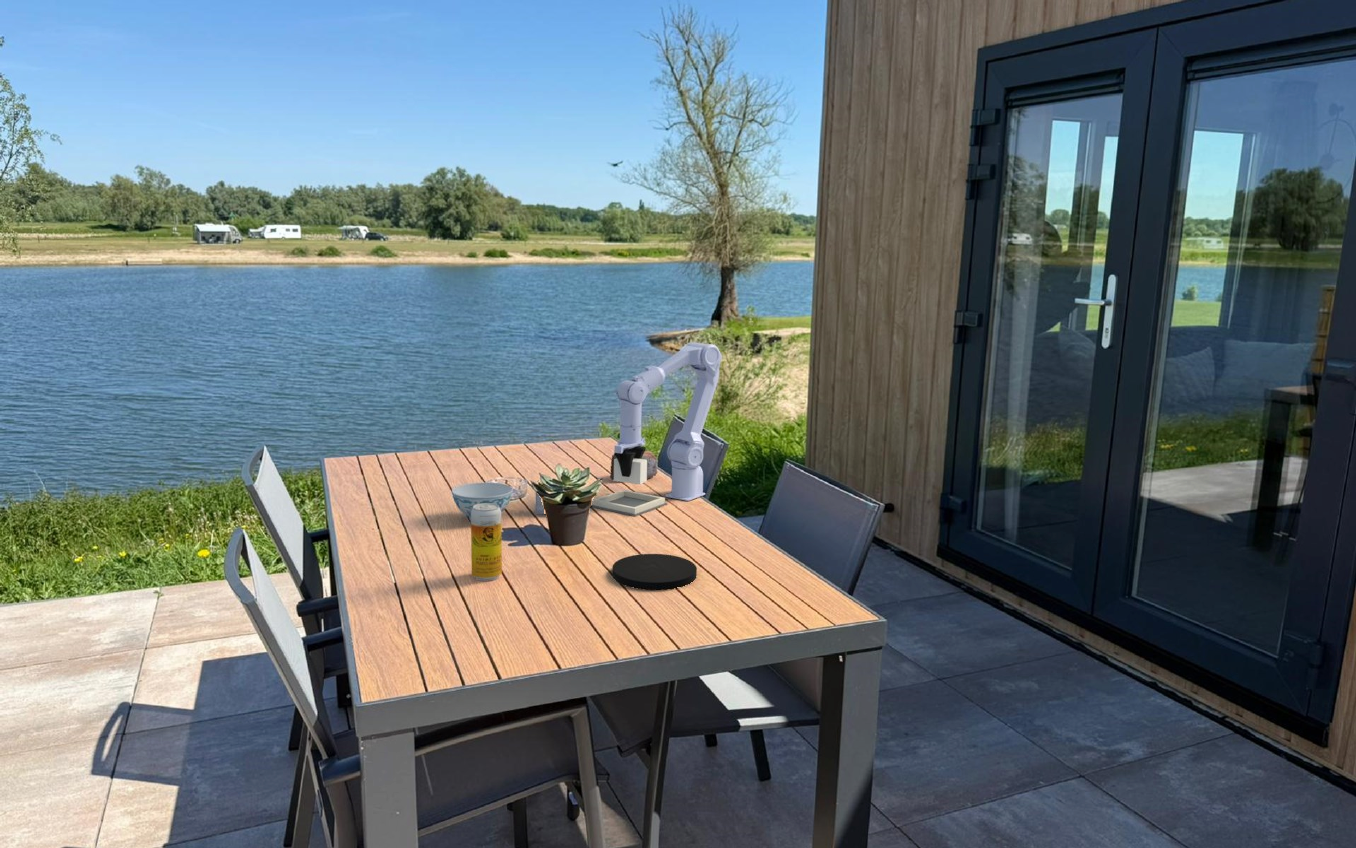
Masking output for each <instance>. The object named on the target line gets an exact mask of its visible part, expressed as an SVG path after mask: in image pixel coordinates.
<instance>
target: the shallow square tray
mask: <svg viewBox="0 0 1356 848" xmlns="http://www.w3.org/2000/svg"><path fill="white" fill-rule="evenodd" d="M593 500H594V501H593ZM593 500H592V504H591V505H592V507H591V508H593V509H598V508H599V509H600V510H604V511H608V510H609V512H613V513H617V514H622V515H627V516H631V517H637V516H640V515H643V514H645V513H648V512H651V511H654V510H656V508H657V509H659V508H661V507H665V506H667V505H668V502H666V497H662V496H658V495H653V494H652V495H651V494H647V493H643V492H638V491H637V492H636V491H633V490H627V489H623V490H620V491H616V492H613V493H610V494H607V495H604V496H601V497H597V498H595V499H593ZM664 505H665V506H664Z"/></svg>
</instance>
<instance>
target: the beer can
mask: <svg viewBox="0 0 1356 848" xmlns="http://www.w3.org/2000/svg"><path fill="white" fill-rule="evenodd" d="M470 540H471V541H470V542H471V543H470V544H471V545H470V546H471V551H470V552H471V559H470V560H471V575H472V576H473V578H474V579H475V580H477V581H485V582H487V581H488V582H489V581H495V580H497V579H498V578H499V577H500V575H501V574H502V571H503V570H502V568H503V565H502V564H503V561H502V559H503V558H502V557H503V555H502V551H503V549H502V542H503V541H502V512H501V510H500V508H499V505H497V504H493V503H481V504H477V505H474V506H473V509H472V511H471V521H470Z"/></svg>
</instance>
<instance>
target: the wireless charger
mask: <svg viewBox="0 0 1356 848" xmlns="http://www.w3.org/2000/svg"><path fill="white" fill-rule="evenodd" d="M697 569H698V568H697V566H696V564H695V563H694V562H692V561H691V560H689V559H687V558H685V557H682V556H681V557H680V556H678V555H672V554H666V553H665V554H663V553H641V554H635V555H634V554H633V555H629V556H625V557H623V558H621V559H618V560H617V561H615V562H614V563H613V565H612V569H611V570H612V574H611V575H612V579H613V580H614V579H615V580H616V581H615V580H614V581H615V582H617V583H618V582H619V584H620V583H621V584H620V585H623V586H625V585H626V586H625V587H627V588H631V587H634V588H633V589H636V588H638V590H643V589H644V590H645V591H669V590H668V589H670V590H675V589H674V588H676V589H678V588H677V587H681V588H683V586H684V587H686V586H685V585H687V586H688V584H689V585H691V584H692V583H691V582H693V581H694V580H695V579H696V580H697V577H696V576H698V575H697V574H698V573H697V572H698V571H697ZM696 580H695V581H696ZM695 581H694V582H695ZM694 582H693V583H694ZM690 583H691V584H690ZM644 590H643V591H644Z"/></svg>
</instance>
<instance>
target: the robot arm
mask: <svg viewBox="0 0 1356 848" xmlns="http://www.w3.org/2000/svg"><path fill="white" fill-rule="evenodd" d="M722 358H723V355H722V353H721V352H720V350H719V347H718V346H716V345H715V344H713V343H710V344H707V343H701V342H700V343H699V342H696V341H691V342H688V343H687V344H686V345H683V346H681V347H680V349H679V350H678V351H677V352H676V353H675V354H673V355H672V356H670V357H669V358H668V359H667V360H665V361H664V362H662V363H661V364H660V365H658V366H656V365H647V366H645V367H644V370H643V371H642V372H640V373H639V374H637V375H633V376H631V379H630V380H628V379H626V380H623V381H622V382H620V383H619V385H618V387H617V389H616V391H615V395H616V398H617V399H618V400H619V406H620V407H619V409H620V411H619V440H618V442H617V444H615V445H614V451H613V452H614V453H613V455H614V454H615V456H616V458H617V460H618V462H619V465H620V469H621V474H622V476H624V477H630V474H631V467H632V462H633V458H637V459H641V458H642V456H643V454H644V452H645V451H647V450H646V449H647V448H646V447H645V445H646V437H645V436H644V437H643V436H642V413H643V412H642V407H643V406H642V405H643V402H644V401H645V400H646V397H647V395H648V394H649V393H651V392H653V391H654V390H656V389H657V388H659V387H660V386H661V385H663V384H664V383H665V378H666V377H668V376H670V375H671V374H673V373H674V372H677V371H678V370H680V369H681V368H683V367H685V366H687V365H689V366H690V368H691V369H692V370H693V371H694V372H695V374H696V376H697V377H698V379H697V382H696V385H695V389H694V392H693V394H692V398H691V402H690V404H689V406H688V411H687V413H686V416H685V418H684V419H685V420H684V422H683V426H682V429H681V431H679V432H677V433H676V434H675V435H674V437H673V440H672V441H671V442H670V444H669V445H668V447H667V451H666V455H667V458H668V459H669V460H670V465H671V492H670V493H667V494H665V495H664V498H671V499H676V500H680V501H685V502H690V501H692V500H695V499H698V498H699V497H702V496H705V495H706V493H705V492H703V491H704V471H703V469H702V467H701V463H702V462H703V460H704V447H705V441H704V440H703V439H702V437H701V435H702V432H703V428H704V426H705V423H706V419H707V416H708V414H709V410H710V408H711V404H712V401H713V397H714V394H715V391H716V388H717V386H718V382H719V378H720V364H721V363H722V362H721V361H722Z"/></svg>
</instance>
